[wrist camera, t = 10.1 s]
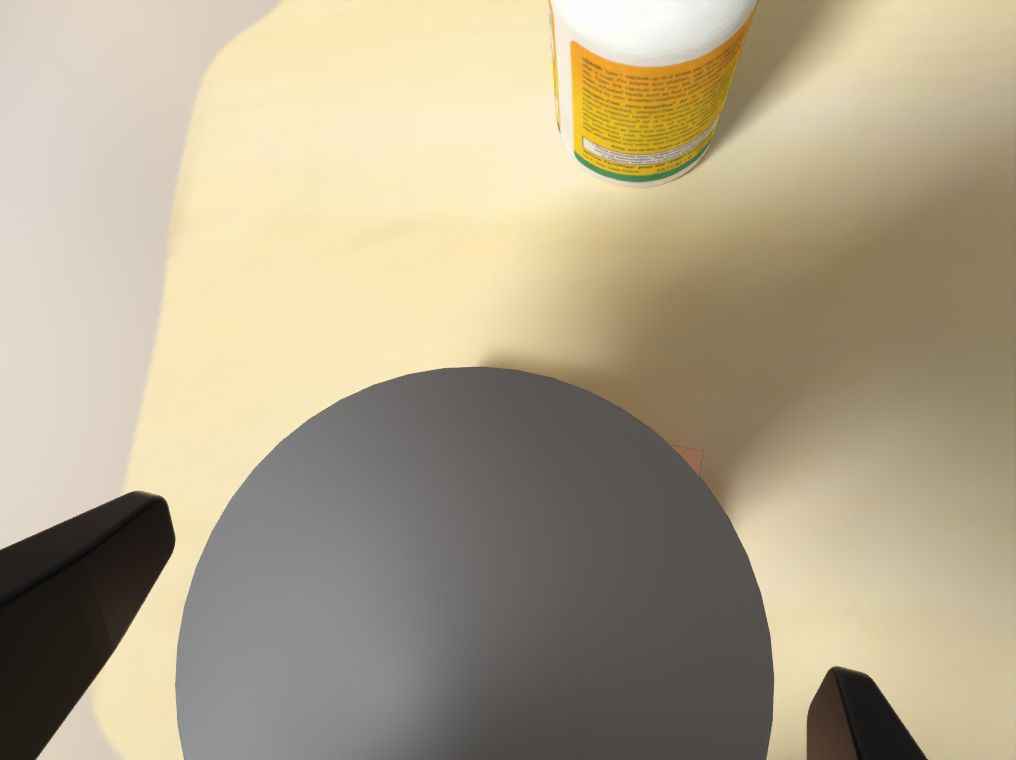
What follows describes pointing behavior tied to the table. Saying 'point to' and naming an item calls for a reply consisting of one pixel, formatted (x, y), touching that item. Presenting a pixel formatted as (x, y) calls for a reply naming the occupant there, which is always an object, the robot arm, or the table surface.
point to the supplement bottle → (643, 82)
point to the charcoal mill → (474, 589)
